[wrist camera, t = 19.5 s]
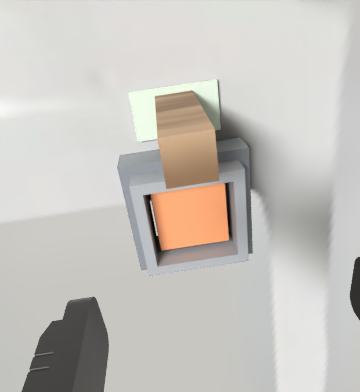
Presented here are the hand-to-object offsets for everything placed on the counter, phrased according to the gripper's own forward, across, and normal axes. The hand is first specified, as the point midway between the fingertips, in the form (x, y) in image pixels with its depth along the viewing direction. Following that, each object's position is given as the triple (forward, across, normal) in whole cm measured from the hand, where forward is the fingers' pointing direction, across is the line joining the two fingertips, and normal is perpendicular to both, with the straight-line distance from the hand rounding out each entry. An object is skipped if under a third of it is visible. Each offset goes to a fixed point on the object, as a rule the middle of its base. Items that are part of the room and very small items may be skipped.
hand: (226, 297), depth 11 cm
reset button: (+23, 0, +10) cm, 25 cm away
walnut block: (+24, 0, 0) cm, 24 cm away
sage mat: (+24, 0, 0) cm, 24 cm away
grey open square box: (+24, 0, +10) cm, 26 cm away
